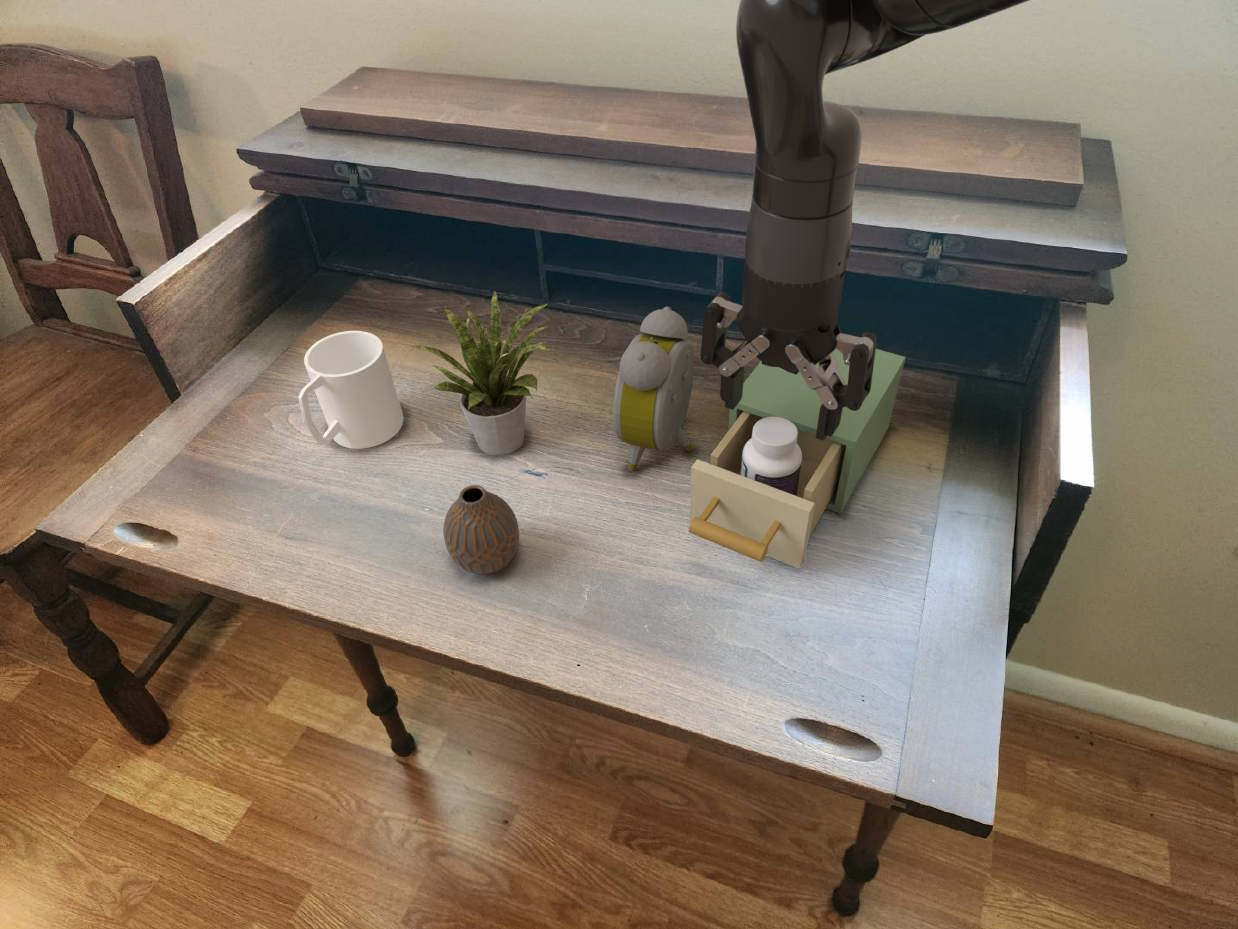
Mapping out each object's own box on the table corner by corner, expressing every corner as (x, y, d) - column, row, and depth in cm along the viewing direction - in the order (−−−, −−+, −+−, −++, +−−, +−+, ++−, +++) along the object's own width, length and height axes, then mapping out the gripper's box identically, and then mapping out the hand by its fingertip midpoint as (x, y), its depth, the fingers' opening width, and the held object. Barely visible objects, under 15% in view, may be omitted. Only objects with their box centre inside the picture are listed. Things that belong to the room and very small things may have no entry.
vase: (498, 519, 83) (484, 456, 77) (537, 560, 79) (526, 497, 73) (438, 554, 80) (419, 491, 74) (475, 598, 76) (458, 535, 70)
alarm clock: (650, 406, 95) (647, 293, 85) (707, 418, 93) (712, 303, 83) (614, 474, 87) (606, 359, 77) (676, 488, 85) (677, 372, 75)
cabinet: (840, 514, 82) (856, 442, 75) (725, 470, 87) (730, 400, 80) (888, 428, 91) (905, 356, 84) (781, 393, 96) (789, 323, 89)
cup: (293, 460, 91) (262, 388, 84) (359, 395, 99) (336, 324, 92) (354, 479, 88) (327, 406, 81) (417, 410, 96) (397, 339, 89)
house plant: (596, 413, 94) (587, 289, 83) (545, 496, 85) (526, 369, 74) (486, 388, 99) (462, 267, 87) (425, 465, 89) (390, 340, 78)
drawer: (779, 604, 73) (788, 547, 68) (666, 556, 78) (666, 498, 72) (851, 478, 84) (864, 420, 79) (748, 442, 89) (753, 384, 83)
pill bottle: (806, 506, 80) (818, 431, 73) (768, 535, 78) (778, 460, 71) (764, 477, 83) (772, 403, 76) (726, 504, 81) (731, 429, 74)
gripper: (687, 254, 62) (685, 418, 74) (872, 302, 57) (840, 472, 68) (731, 212, 67) (723, 372, 78) (906, 252, 61) (871, 419, 72)
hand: (777, 418), depth 73 cm, fingers open, 8 cm apart
